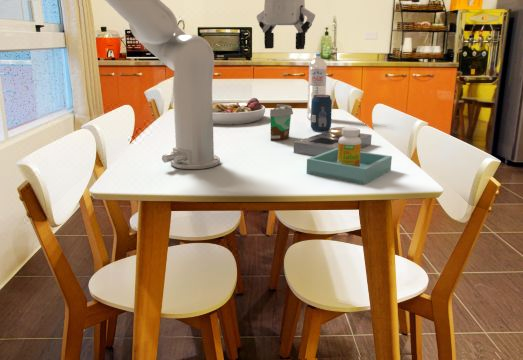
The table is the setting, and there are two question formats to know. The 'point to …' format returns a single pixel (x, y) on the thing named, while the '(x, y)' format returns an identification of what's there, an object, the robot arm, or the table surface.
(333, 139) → the bracket
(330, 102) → the soda can
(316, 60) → the water bottle
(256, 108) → the bowl
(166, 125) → the table surface
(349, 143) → the supplement bottle
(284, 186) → the table surface
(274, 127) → the food container
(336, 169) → the tray
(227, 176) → the table surface
